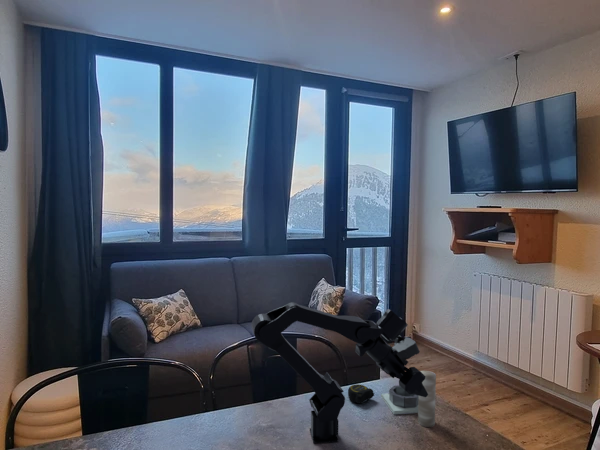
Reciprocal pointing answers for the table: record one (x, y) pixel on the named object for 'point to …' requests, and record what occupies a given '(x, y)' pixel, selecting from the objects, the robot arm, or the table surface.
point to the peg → (427, 401)
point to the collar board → (395, 408)
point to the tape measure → (359, 393)
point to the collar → (402, 397)
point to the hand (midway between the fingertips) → (417, 388)
